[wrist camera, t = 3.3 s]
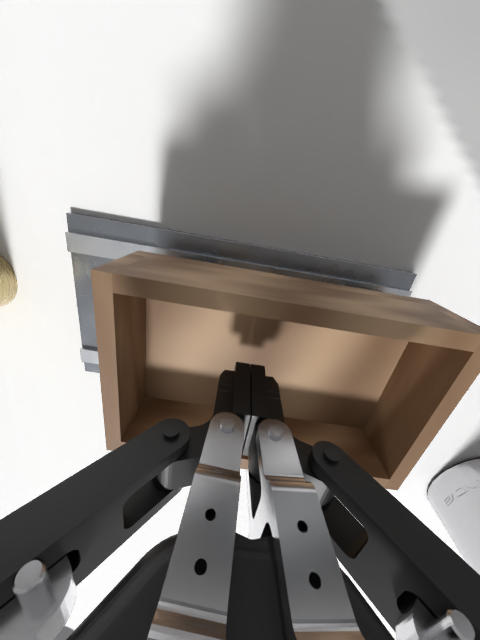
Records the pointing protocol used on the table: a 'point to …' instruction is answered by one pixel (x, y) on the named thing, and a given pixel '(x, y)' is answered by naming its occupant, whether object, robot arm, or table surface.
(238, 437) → the robot arm
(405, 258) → the table surface
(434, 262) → the table surface
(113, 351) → the tray
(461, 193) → the table surface
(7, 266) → the brass fitting
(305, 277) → the track
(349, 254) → the table surface
